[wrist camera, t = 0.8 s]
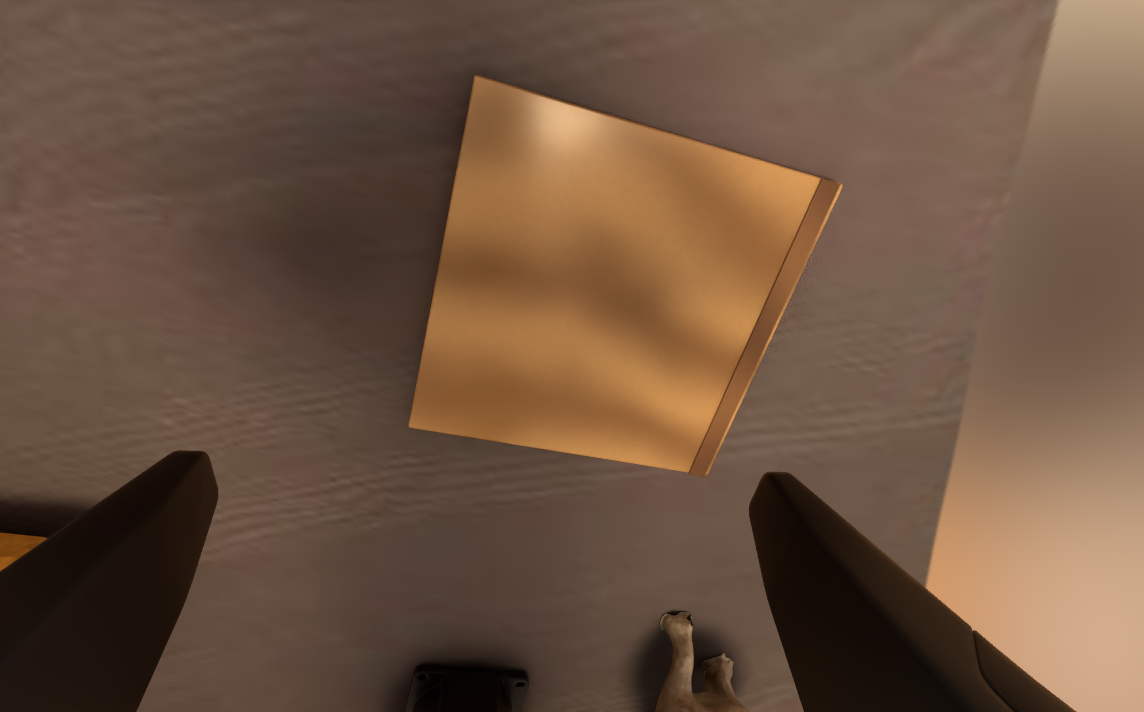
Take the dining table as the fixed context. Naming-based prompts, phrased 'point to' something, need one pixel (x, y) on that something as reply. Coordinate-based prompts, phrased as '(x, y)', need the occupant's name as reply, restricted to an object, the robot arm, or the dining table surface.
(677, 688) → the rhinoceros figurine
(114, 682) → the robot arm
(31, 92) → the dining table surface
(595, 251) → the tan flat square slab
